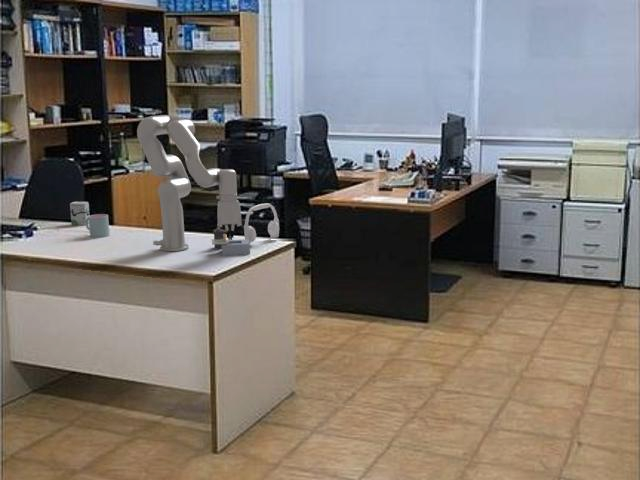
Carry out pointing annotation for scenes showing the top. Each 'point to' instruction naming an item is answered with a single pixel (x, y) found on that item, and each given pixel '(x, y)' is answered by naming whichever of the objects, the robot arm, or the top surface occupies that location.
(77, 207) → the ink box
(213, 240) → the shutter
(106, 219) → the mug
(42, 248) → the top surface
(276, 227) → the headset
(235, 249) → the socket
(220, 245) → the plug
